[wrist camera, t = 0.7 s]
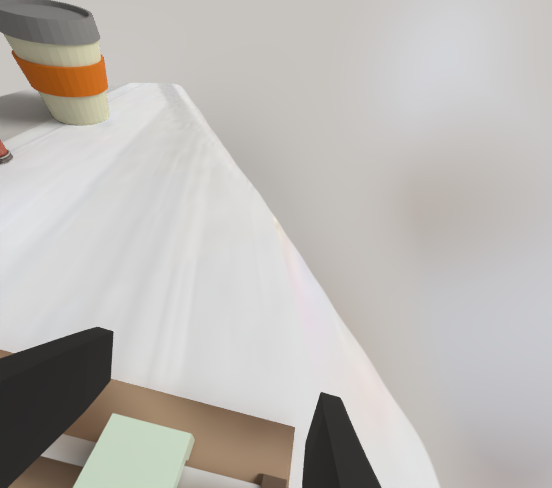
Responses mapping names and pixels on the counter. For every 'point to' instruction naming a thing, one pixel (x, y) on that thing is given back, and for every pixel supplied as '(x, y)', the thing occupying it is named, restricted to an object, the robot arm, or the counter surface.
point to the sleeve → (136, 456)
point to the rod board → (181, 416)
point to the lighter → (4, 154)
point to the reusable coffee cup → (59, 57)
